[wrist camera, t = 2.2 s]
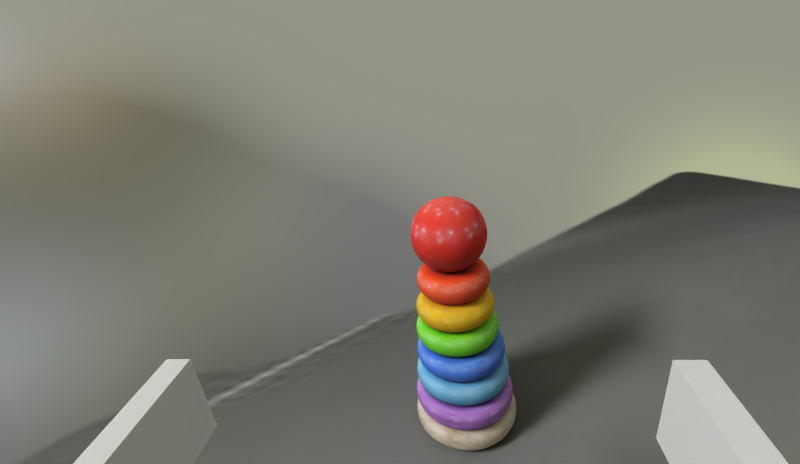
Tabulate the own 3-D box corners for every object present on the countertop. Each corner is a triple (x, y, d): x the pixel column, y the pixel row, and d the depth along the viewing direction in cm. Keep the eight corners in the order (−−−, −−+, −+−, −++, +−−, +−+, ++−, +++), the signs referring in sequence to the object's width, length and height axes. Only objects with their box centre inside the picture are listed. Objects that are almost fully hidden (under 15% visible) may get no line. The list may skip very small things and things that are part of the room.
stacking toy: (512, 377, 37) (511, 176, 29) (521, 460, 30) (522, 223, 22) (424, 375, 38) (400, 183, 30) (412, 452, 31) (378, 229, 23)
